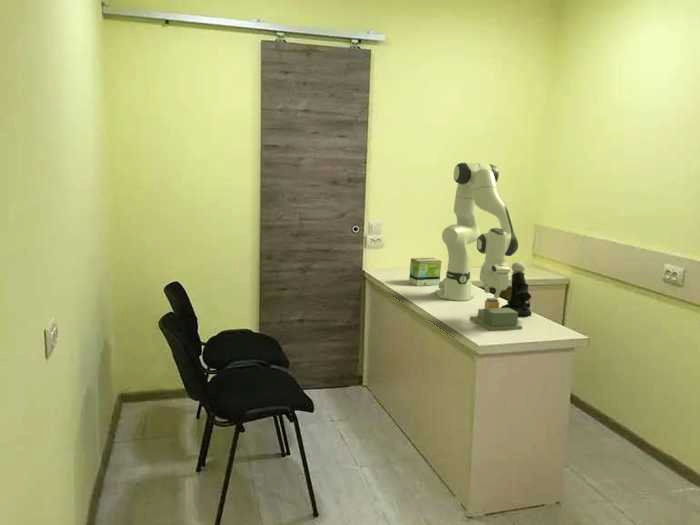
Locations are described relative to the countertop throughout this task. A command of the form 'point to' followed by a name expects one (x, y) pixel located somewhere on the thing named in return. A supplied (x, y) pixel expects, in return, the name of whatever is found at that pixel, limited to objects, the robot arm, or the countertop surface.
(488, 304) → the yellow box green face
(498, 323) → the green plate with frame
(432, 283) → the tea box
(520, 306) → the sculpture
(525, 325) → the countertop surface
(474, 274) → the countertop surface
